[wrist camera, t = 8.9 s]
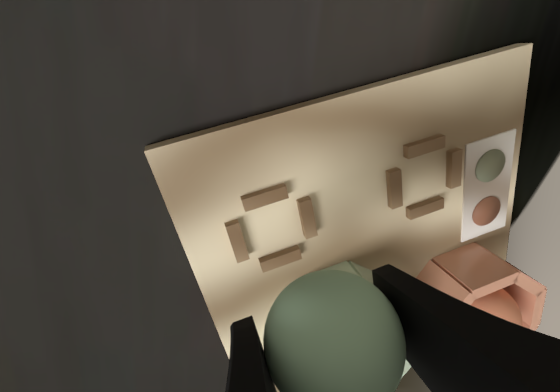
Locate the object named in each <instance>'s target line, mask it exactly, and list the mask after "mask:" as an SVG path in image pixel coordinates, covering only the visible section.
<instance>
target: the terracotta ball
mask: <svg viewBox="0 0 560 392" xmlns="http://www.w3.org/2000/svg"><path fill="white" fill-rule="evenodd" d="M471 306H474V307H476V308H478V309H481V310H483V311H485V312H487V313H490V314H492V315H494V316H497V317H499V318H502V319H504V320H507V321H509V322H512V323H515V324H518V325H520V326H522V315H521V312H520V309H519V307H518V305H517V303H516V302H515V300H514V299H513V298H512V297H511V295H510V294H509V293H507V292H506V291H505V290H504V289H500V290H497V291H495V292H493V293H490V294H488V295H485V296H483V297H480V298H478V299H476V300H474V302H473V303H472V304H471Z"/></svg>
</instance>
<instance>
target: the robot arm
mask: <svg viewBox="0 0 560 392" xmlns="http://www.w3.org/2000/svg"><path fill="white" fill-rule="evenodd" d="M372 277H373V285H374V286H376V287H377V288H378V289H379V290H380V291H381V292H382V293H383V294H384V295H385V296H386V297H387V298H388V300H389V301H390V302H391V304H392V305H393V307H394V309H395V310H396V312H397V314H398V316H399V319H400V321H401V324H402V327H403V330H404V336H405V342H406V360H407V361H408V363H409V364H410V365H411V366H412V367H413V369H414V370H415V371H416V373H417V374H418V375H419V377H420V378H421V379H422V380H423V382H424V383H425V384H426V385H427V387H428V388H429V389H430V390H431V392H560V339H557V338H554V337H551V336H548V335H545V334H542V333H539V332H536V331H534V330H531V329H528V328H526V327H523V326H520V325H518V324H515V323H512V322H509V321H507V320H504V319H502V318H499V317H497V316H494V315H492V314H490V313H487V312H485V311H483V310H481V309H478V308H476V307H474V306H471V305H469V304H467V303H465V302H463V301H461V300H458V299H456V298H454V297H452V296H450V295H448V294H446V293H444V292H442V291H440V290H438V289H436V288H434V287H432V286H430V285H428V284H426V283H424V282H422V281H421V280H419V279H417V278H415V277H413V276H411V275H409V274H407V273H405V272H404V271H402V270H400V269H398V268H396V267H394V266H392V265H390V264H387V265H384V266H381V267H379V268H376V269H373V270H372ZM230 333H231V342H230V358H229V369H228V376H227V384H226V391H225V392H277V391H276V388H275V384H274V382H273V380H272V378H271V376H270V373H269V370H268V367H267V363H266V359H265V355H264V350H263V347H262V344H261V341H260V338H259V335H258V332H257V329H256V326H255V323H254V320H253V317H252V315H251V316H249V317H246V318H243V319H241V320H238V321H235V322H233V323H232V325H231V326H230Z"/></svg>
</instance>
